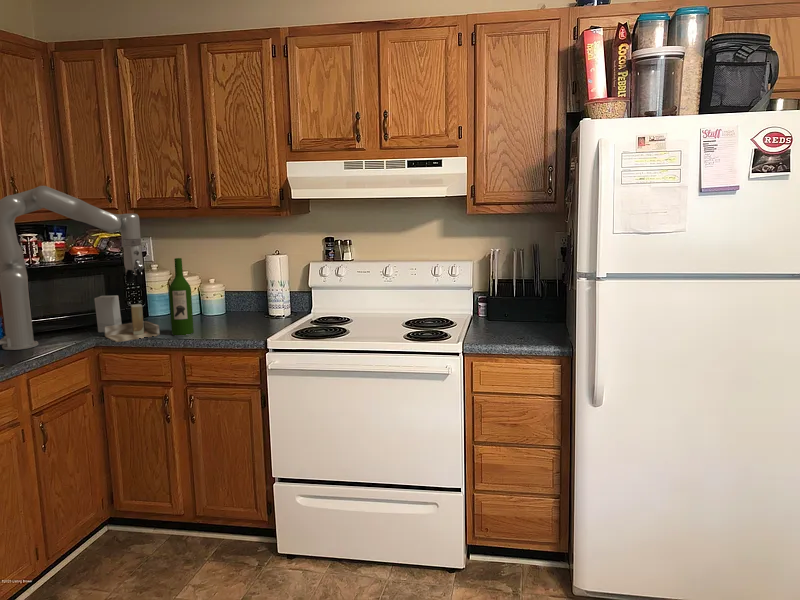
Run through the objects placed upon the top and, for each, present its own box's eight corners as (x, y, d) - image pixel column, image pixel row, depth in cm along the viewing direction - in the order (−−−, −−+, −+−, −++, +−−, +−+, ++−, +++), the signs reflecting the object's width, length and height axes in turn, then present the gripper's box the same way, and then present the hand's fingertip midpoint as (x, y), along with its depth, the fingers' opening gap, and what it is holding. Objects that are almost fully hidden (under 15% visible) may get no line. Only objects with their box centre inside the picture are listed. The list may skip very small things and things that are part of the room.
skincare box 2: (132, 332, 294) (130, 304, 292) (143, 331, 296) (141, 303, 294) (133, 335, 288) (131, 306, 286) (144, 334, 290) (142, 305, 288)
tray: (116, 342, 278) (115, 331, 277) (105, 337, 288) (104, 326, 288) (159, 335, 290) (159, 325, 289) (147, 330, 300) (146, 320, 299)
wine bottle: (172, 336, 288) (166, 259, 283) (172, 332, 296) (167, 257, 291) (194, 334, 290) (189, 258, 285) (193, 330, 299) (188, 257, 294)
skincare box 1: (122, 329, 304) (119, 295, 302) (115, 332, 298) (112, 297, 295) (104, 329, 305) (101, 295, 302) (96, 332, 298) (93, 297, 296)
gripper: (148, 243, 282) (151, 284, 285) (132, 241, 295) (135, 280, 298) (129, 244, 277) (133, 286, 280) (115, 242, 290) (118, 282, 293)
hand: (134, 283), depth 289 cm, fingers open, 9 cm apart
